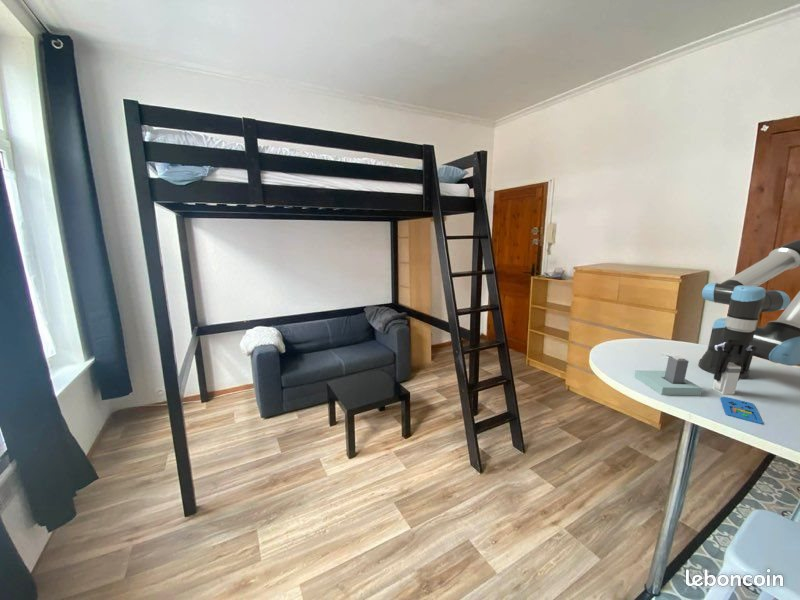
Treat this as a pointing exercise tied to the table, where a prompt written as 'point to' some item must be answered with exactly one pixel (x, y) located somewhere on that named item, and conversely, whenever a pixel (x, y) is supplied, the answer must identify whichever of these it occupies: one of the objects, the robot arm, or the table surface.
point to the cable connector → (730, 379)
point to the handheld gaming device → (740, 410)
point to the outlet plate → (666, 384)
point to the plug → (676, 370)
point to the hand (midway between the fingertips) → (723, 388)
